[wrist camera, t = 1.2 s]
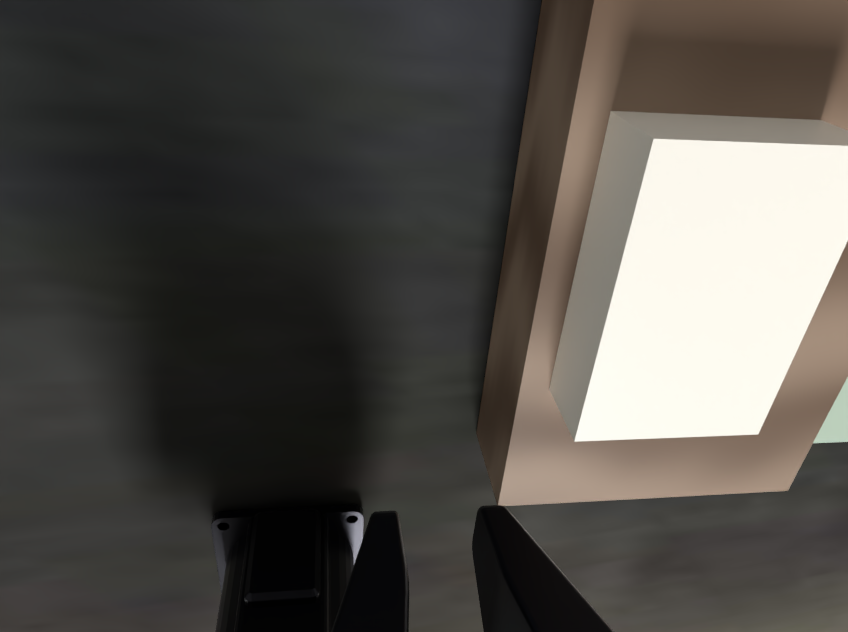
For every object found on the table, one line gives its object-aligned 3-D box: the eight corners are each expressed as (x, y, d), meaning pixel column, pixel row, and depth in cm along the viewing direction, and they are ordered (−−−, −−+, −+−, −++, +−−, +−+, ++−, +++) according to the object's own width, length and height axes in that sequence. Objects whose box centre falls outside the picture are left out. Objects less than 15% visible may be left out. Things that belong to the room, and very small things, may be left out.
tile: (716, 385, 22) (758, 434, 19) (549, 389, 21) (574, 441, 19) (820, 120, 17) (891, 147, 15) (610, 110, 16) (654, 138, 14)
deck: (733, 424, 29) (787, 490, 25) (476, 433, 27) (497, 506, 23) (959, -102, 18) (1103, -109, 15) (563, -144, 16) (624, -162, 13)
